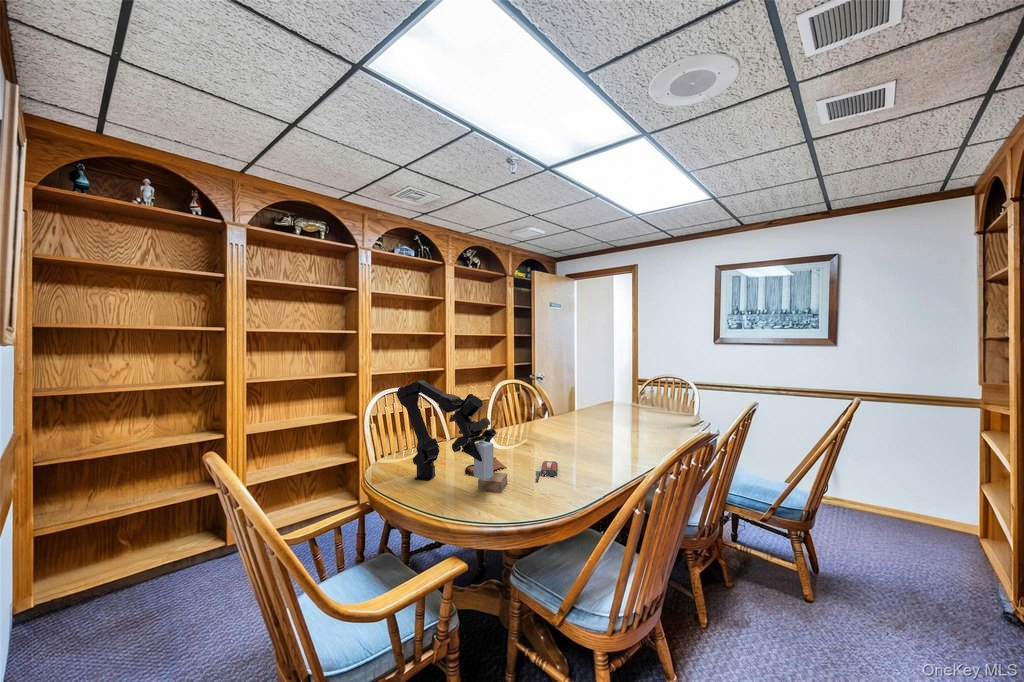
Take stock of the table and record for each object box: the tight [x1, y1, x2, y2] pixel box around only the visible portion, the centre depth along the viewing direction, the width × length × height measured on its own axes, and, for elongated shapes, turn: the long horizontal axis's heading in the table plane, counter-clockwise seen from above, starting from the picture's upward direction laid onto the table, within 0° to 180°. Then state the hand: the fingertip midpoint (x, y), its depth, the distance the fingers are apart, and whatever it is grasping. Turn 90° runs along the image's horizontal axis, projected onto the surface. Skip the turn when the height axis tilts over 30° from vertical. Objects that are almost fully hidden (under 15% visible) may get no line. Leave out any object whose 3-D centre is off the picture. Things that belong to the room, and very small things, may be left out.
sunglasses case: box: [464, 456, 508, 477], centre depth 170 cm, size 18×7×7 cm
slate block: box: [473, 441, 494, 480], centre depth 144 cm, size 5×5×12 cm
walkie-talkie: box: [535, 460, 559, 482], centre depth 165 cm, size 9×4×20 cm
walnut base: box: [477, 472, 508, 493], centre depth 151 cm, size 9×9×4 cm
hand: (486, 459), depth 143 cm, fingers closed on slate block, 5 cm apart
